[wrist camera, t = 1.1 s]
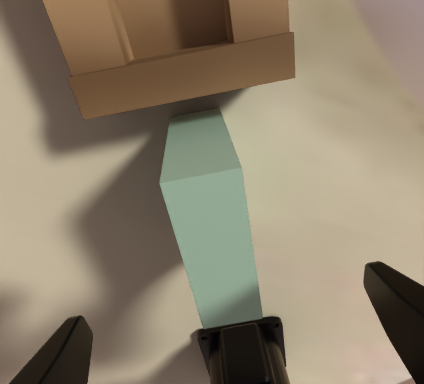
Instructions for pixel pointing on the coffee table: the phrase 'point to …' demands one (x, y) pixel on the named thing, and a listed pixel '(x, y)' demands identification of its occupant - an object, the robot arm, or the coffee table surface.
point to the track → (169, 49)
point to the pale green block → (211, 218)
